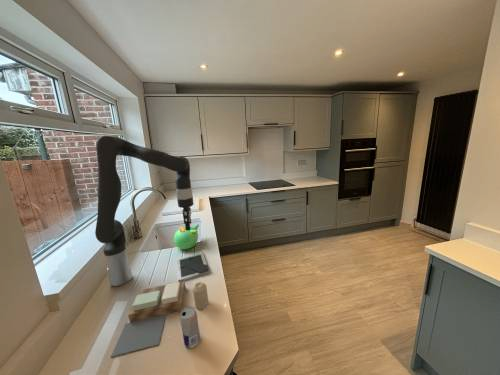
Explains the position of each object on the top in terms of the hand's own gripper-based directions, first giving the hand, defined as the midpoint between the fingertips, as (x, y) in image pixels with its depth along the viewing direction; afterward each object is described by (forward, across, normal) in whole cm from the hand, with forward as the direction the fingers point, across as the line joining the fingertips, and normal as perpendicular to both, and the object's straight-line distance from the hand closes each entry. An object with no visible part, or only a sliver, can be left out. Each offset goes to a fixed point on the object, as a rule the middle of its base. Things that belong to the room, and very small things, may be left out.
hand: (188, 226), depth 103 cm
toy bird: (+26, -30, -5) cm, 40 cm away
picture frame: (+27, -4, -1) cm, 27 cm away
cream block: (+22, +21, -8) cm, 31 cm away
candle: (+26, +26, +4) cm, 37 cm away
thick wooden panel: (+26, +20, -14) cm, 36 cm away
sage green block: (+22, +22, -18) cm, 36 cm away
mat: (+26, +33, -18) cm, 46 cm away
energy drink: (+26, +42, +1) cm, 49 cm away
